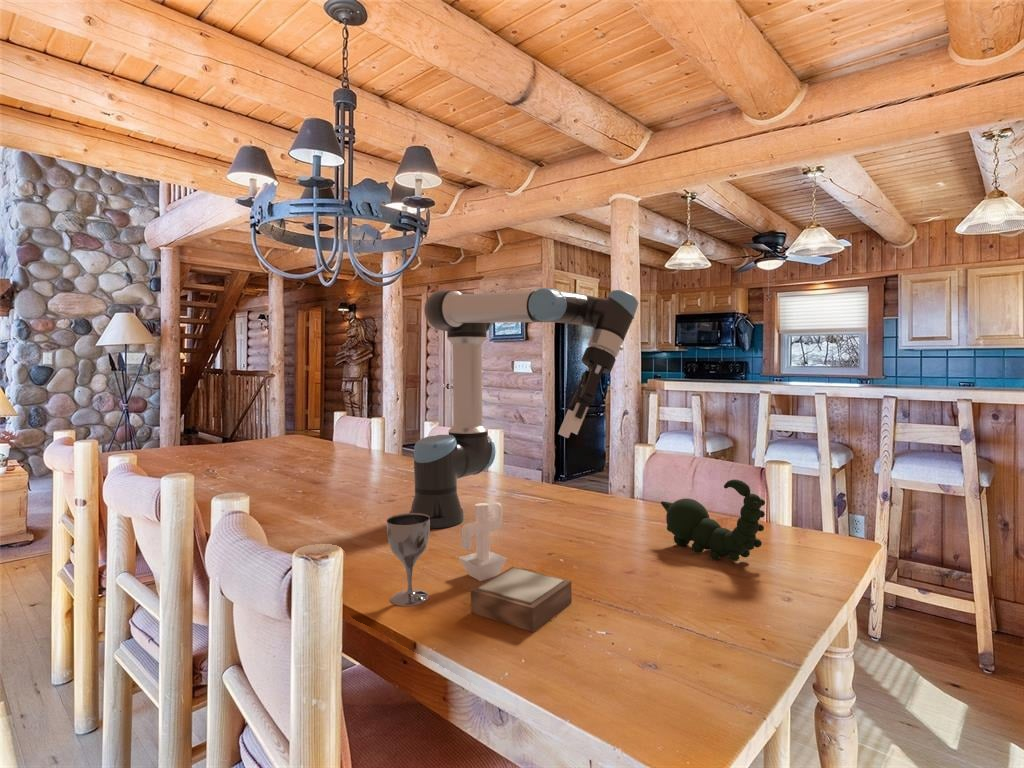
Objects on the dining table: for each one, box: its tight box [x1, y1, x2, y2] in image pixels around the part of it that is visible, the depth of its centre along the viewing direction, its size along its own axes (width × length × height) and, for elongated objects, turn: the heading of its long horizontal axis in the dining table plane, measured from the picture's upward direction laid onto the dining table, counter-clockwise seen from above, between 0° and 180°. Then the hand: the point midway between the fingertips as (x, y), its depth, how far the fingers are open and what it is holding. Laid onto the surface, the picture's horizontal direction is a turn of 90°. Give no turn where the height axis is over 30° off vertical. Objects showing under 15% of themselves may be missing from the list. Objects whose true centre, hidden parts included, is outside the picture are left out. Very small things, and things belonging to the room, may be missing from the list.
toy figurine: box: [660, 478, 766, 562], centre depth 124 cm, size 10×19×26 cm
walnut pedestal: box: [470, 566, 573, 633], centre depth 97 cm, size 13×13×4 cm
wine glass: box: [386, 512, 431, 607], centre depth 102 cm, size 8×8×15 cm
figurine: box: [458, 502, 508, 582], centre depth 112 cm, size 7×9×15 cm
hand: (566, 434), depth 126 cm, fingers open, 13 cm apart
